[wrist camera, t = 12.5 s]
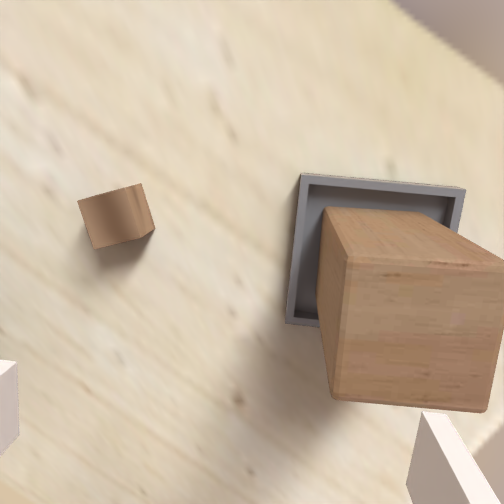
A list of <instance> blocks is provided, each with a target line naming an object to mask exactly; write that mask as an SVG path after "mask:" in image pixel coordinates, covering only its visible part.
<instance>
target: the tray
mask: <svg viewBox="0 0 504 504" xmlns="http://www.w3.org/2000/svg"><path fill="white" fill-rule="evenodd" d="M465 193H466V189H462V188H459V187H452V186H441V185H430V184H419V183H408V182H397V181H386V180H375V179H364V178H353V177H342V176H331V175H320V174H309V173H301V178H300V187H299V196H298V205H297V214H296V223H295V232H294V241H293V250H292V260H291V269H290V278H289V287H288V296H287V305H286V314H285V324H294V325H303V326H312V327H320V323H319V316H318V310H317V303H316V296H315V291H316V280H317V269H318V258H319V247H320V236H321V225H322V214H323V209H324V207H327V206H333V207H349V208H365V209H381V210H397V211H413V212H420V213H422V214H424V215H426V216H428V217H429V218H431V219H433V220H435V221H436V222H438V223H440V224H442V225H443V226H445V227H447V228H449V229H450V230H452V231H454V232H456V233H457V232H458V227H459V222H460V217H461V212H462V207H463V203H464V198H465Z"/></svg>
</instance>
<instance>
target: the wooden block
mask: <svg viewBox="0 0 504 504" xmlns="http://www.w3.org/2000/svg"><path fill="white" fill-rule="evenodd" d="M315 296H316V303H317V310H318V316H319V323H320V329H321V336H322V342H323V349H324V355H325V362H326V369H327V375H328V382H329V388H330V393H331V396H332V397H333V398H334V399H336V400H342V401H353V402H364V403H375V404H385V405H396V406H407V407H418V408H429V409H440V410H451V411H461V412H472V413H484V412H485V411H486V410H487V407H488V403H489V398H490V393H491V388H492V383H493V378H494V373H495V369H496V364H497V359H498V354H499V349H500V344H501V339H502V334H503V330H504V260H503V259H501V258H499V257H497V256H496V255H494V254H492V253H490V252H489V251H487V250H485V249H484V248H482V247H480V246H478V245H477V244H475V243H473V242H471V241H470V240H468V239H466V238H464V237H463V236H461V235H459V234H457V233H456V232H454V231H452V230H450V229H449V228H447V227H445V226H443V225H442V224H440V223H438V222H436V221H435V220H433V219H431V218H429V217H428V216H426V215H424V214H422V213H420V212H413V211H397V210H381V209H365V208H349V207H333V206H327V207H324V209H323V214H322V225H321V236H320V247H319V258H318V269H317V280H316V291H315Z"/></svg>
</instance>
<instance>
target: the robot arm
mask: <svg viewBox="0 0 504 504" xmlns="http://www.w3.org/2000/svg"><path fill="white" fill-rule="evenodd" d="M18 436H19V405H18V375H17V362H15V361H7V360H0V456H1V455H2V454H3V453H4V452H5V451H6V449H7V448H8V447H9V446H10V445H11V444H12V443H13V442H14V440H15V439H16V438H17V437H18ZM406 486H407V488H408V491H409V494H410V497H411V499H412V502H413V504H501V503H500V502H499V500H498V498H497V497H496V495H495V493H494V492H493V490H492V489H491V487H490V485H489V484H488V482H487V481H486V479H485V477H484V475H483V474H482V472H481V470H480V469H479V467H478V465H477V464H476V462H475V461H474V459H473V457H472V456H471V454H470V452H469V451H468V449H467V447H466V446H465V444H464V442H463V441H462V439H461V438H460V436H459V434H458V433H457V431H456V429H455V428H454V426H453V424H452V423H451V421H450V419H449V418H448V416H447V414H440V413H432V412H424V411H422V413H421V418H420V422H419V427H418V431H417V436H416V441H415V445H414V450H413V454H412V459H411V463H410V468H409V472H408V477H407V481H406Z"/></svg>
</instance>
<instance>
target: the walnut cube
mask: <svg viewBox="0 0 504 504" xmlns="http://www.w3.org/2000/svg"><path fill="white" fill-rule="evenodd" d="M77 202H78V205H79V208H80V211H81V214H82V216H83V219H84V222H85V225H86V228H87V231H88V234H89V237H90V239H91V242H92V245H93V248H94V249H98V248H102V247H106V246H110V245H114V244H118V243H123V242H127V241H131V240H135V239H139V238H141V237H143V236H144V235H146V234H147V233H149V232H150V231H152V230H153V229H155V226H154V222H153V219H152V216H151V213H150V210H149V206H148V203H147V200H146V197H145V194H144V190H143V187H142V184H141V183H140V184H137V185H133V186H129V187H125V188H122V189H118V190H114V191H110V192H106V193H103V194H99V195H95V196H92V197H89V198H85V199H82V200H79V201H77Z"/></svg>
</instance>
